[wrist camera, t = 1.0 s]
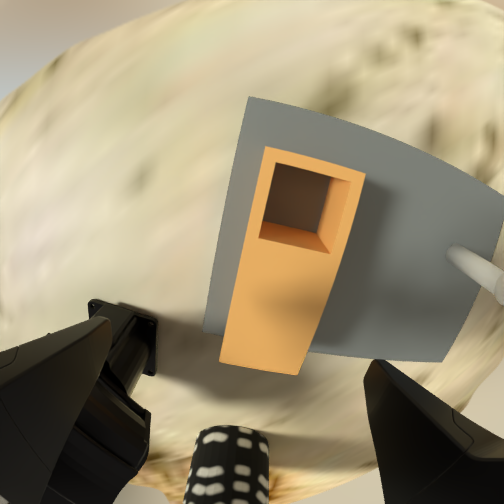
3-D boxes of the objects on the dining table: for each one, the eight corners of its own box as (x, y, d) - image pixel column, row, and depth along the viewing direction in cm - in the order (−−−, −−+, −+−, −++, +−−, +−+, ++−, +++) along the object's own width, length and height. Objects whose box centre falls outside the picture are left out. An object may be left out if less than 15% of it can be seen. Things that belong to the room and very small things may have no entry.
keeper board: (435, 353, 22) (477, 415, 13) (205, 320, 21) (177, 409, 13) (497, 196, 17) (571, 221, 8) (249, 101, 16) (238, 50, 8)
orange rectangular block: (292, 338, 20) (297, 375, 16) (226, 325, 19) (218, 361, 16) (342, 169, 16) (365, 173, 12) (264, 149, 16) (265, 146, 12)
